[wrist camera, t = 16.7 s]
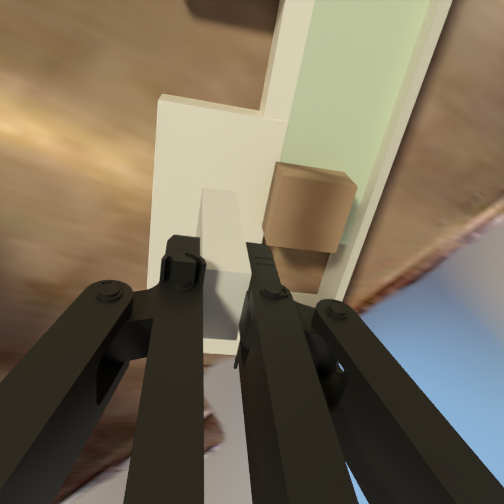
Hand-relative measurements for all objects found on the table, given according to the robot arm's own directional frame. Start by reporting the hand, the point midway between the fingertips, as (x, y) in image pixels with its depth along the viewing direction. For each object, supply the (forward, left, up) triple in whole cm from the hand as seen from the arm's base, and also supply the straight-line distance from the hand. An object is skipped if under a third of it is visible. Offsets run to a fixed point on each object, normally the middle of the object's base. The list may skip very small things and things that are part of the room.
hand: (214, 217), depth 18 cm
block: (+8, -4, -15) cm, 17 cm away
